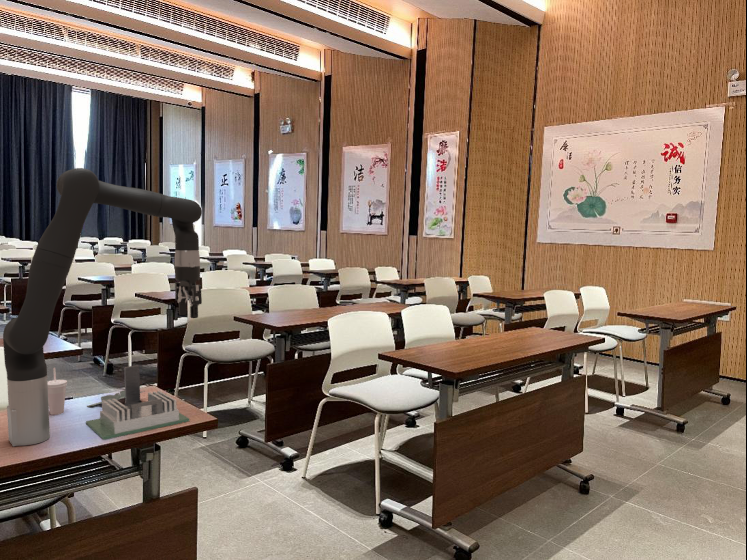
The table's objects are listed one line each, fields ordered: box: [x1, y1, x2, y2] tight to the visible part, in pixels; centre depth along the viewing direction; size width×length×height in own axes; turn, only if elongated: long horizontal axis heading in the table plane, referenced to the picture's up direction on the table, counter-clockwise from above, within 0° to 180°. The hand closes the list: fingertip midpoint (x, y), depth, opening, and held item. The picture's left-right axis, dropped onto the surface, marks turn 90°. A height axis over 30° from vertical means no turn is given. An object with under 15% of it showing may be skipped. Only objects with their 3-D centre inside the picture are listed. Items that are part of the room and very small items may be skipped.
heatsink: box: [85, 390, 190, 441], centre depth 172 cm, size 24×17×8 cm
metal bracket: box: [86, 389, 145, 408], centre depth 192 cm, size 14×6×15 cm
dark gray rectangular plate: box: [123, 364, 142, 406], centre depth 175 cm, size 4×1×12 cm, turn 131°
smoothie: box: [47, 367, 68, 416], centre depth 181 cm, size 6×6×14 cm
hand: (188, 316), depth 185 cm, fingers open, 8 cm apart
